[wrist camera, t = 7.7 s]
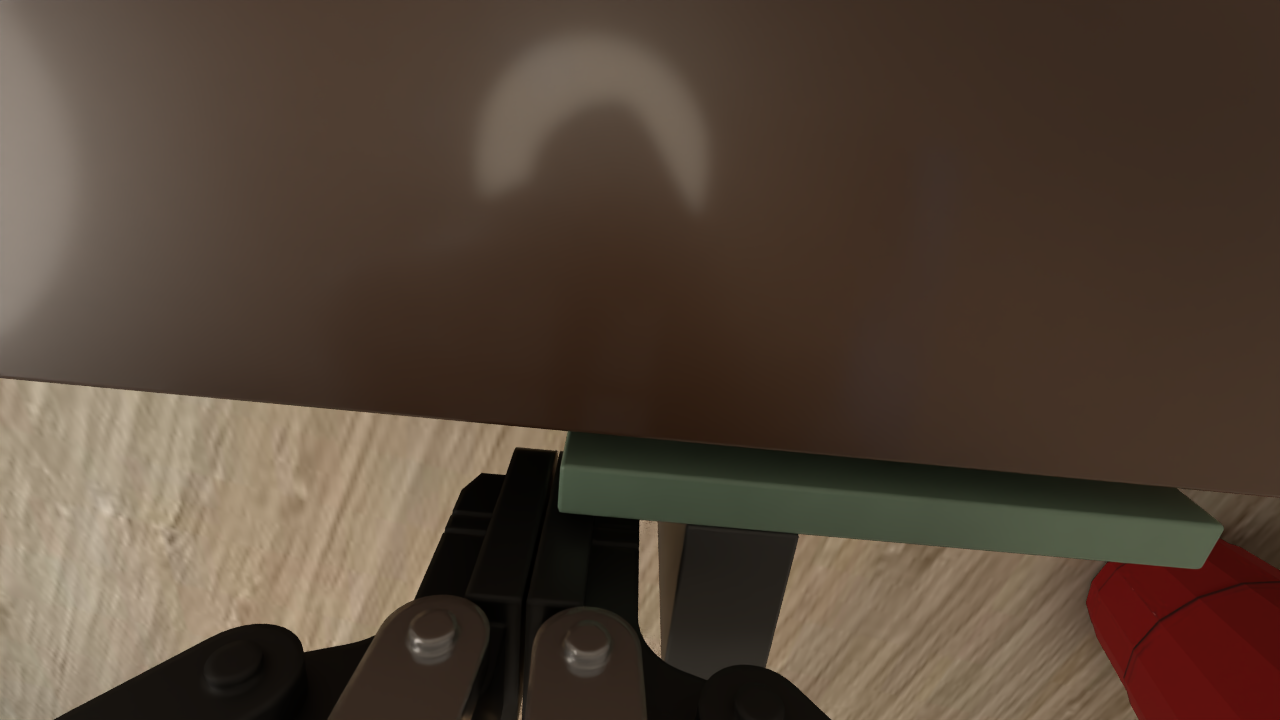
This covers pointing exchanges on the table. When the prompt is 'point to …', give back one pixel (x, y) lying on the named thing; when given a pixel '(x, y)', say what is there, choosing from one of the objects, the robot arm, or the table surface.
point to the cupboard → (669, 220)
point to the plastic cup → (1193, 636)
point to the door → (841, 524)
